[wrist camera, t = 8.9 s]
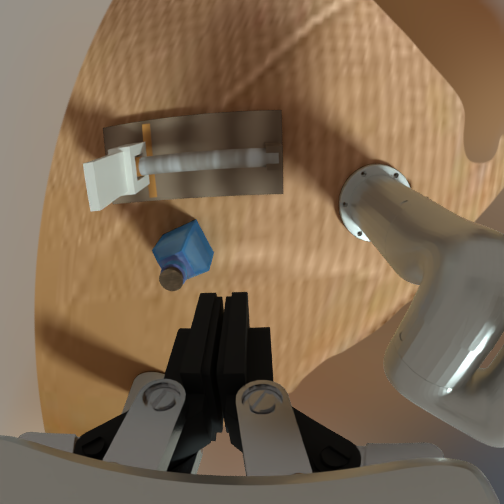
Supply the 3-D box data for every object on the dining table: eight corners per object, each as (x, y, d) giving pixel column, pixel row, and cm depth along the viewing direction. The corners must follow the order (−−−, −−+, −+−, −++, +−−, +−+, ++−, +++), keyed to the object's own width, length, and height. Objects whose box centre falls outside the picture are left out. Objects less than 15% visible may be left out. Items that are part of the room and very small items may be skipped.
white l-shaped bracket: (145, 141, 40) (100, 155, 27) (149, 183, 42) (108, 214, 29) (125, 144, 40) (75, 160, 27) (130, 185, 42) (84, 216, 30)
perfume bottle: (196, 219, 49) (179, 251, 38) (213, 252, 51) (203, 291, 40) (162, 234, 50) (139, 268, 39) (181, 266, 52) (163, 306, 41)
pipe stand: (280, 110, 42) (285, 109, 34) (282, 190, 47) (287, 206, 39) (108, 127, 42) (82, 131, 35) (117, 200, 47) (95, 217, 40)
